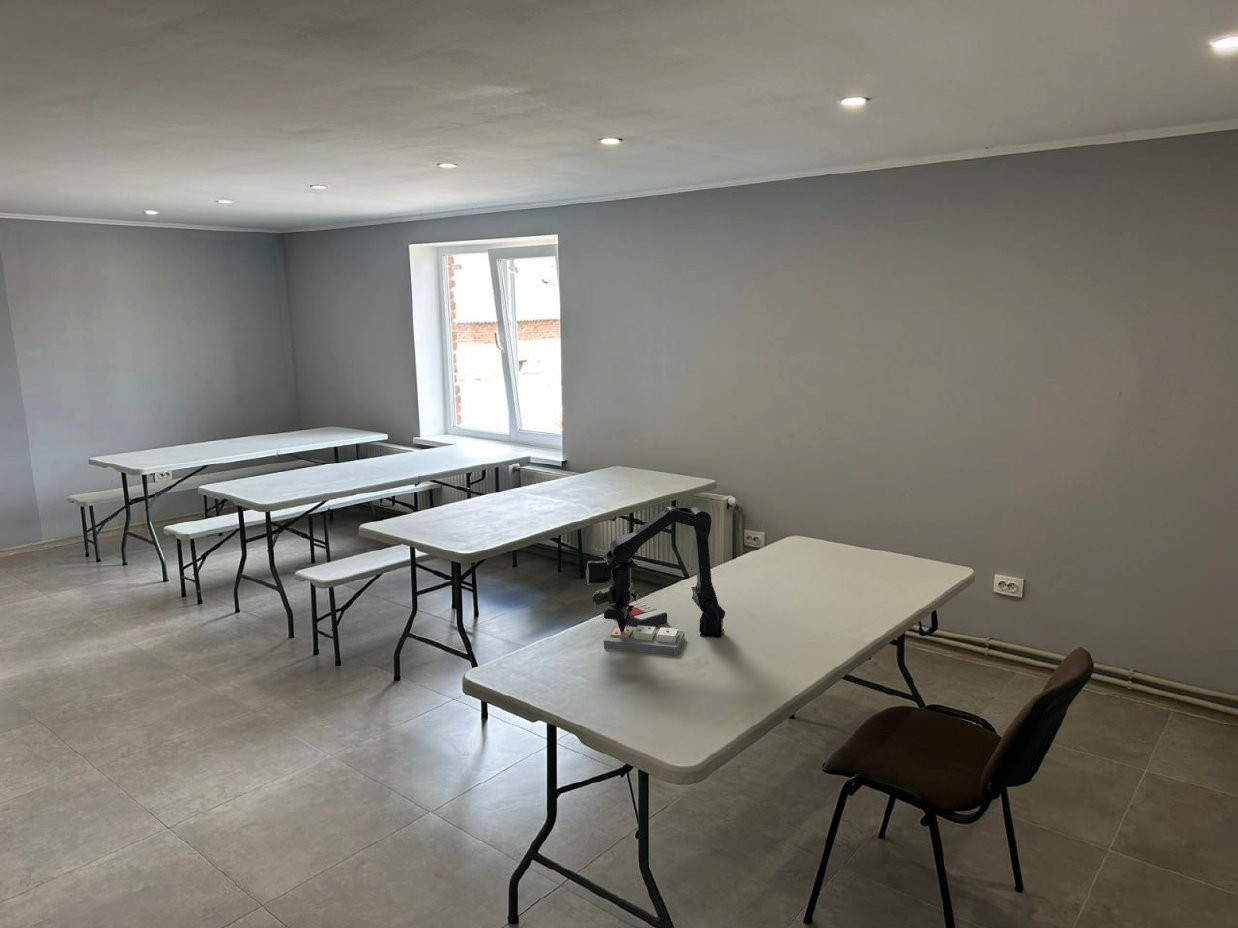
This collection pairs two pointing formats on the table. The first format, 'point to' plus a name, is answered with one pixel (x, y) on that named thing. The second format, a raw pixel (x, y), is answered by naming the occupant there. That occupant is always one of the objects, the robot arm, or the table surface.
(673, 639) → the tile
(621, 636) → the tile
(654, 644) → the console
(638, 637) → the tile
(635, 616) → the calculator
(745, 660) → the table surface
